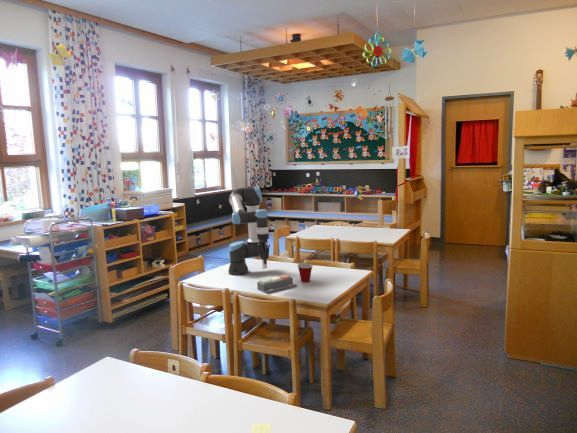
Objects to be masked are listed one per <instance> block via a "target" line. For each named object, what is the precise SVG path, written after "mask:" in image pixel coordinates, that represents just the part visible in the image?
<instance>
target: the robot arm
mask: <svg viewBox="0 0 577 433" xmlns="http://www.w3.org/2000/svg"><path fill="white" fill-rule="evenodd" d="M228 202H229V204H230V206H231V208H232V213H231V221H232V224H234V225H243V224H247V230H248V239H247V240H246V242H245V241H243V240H240V241H239V240H238V241H235V242H232V243H230V244H229V246H228V252H229V268H228V274H229V275H232V276H239V275H240V276H241V275H245V274H247V273H249V267H248V264H247V262H246V259H252V258H261V265H262V266H261V268H262V269H263V270H266V269H268V259H269V256H270V246H271V244H268V240H269V239H270V234H269V221H268V219H269V218H268V216H269V215H268V214H269V213H268V209H265V208H263V209H259V207H260V206H261V203H262V202H263V194H262V190H261V189H260V187H258V186H257V187H256V186H251V187H250V186H249V187H248V186H247V187H239V188H235V189H234V190H233V191H231V193H230V194H229V197H228ZM244 206H245V207H244ZM245 208H247V209H246V210H247V211H245Z"/></svg>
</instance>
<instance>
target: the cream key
mask: <svg viewBox="0 0 577 433" xmlns="http://www.w3.org/2000/svg"><path fill="white" fill-rule="evenodd" d="M268 279H270V280H272V282H277V281H281V278H279V277H278V276H273V277H269V278H268Z"/></svg>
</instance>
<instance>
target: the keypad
mask: <svg viewBox="0 0 577 433" xmlns="http://www.w3.org/2000/svg"><path fill="white" fill-rule="evenodd" d="M256 283H257V284H256V285H257V286H256V288H257V290H258V291H260V292H262V293H263V294H265V295H266V294H267V295H269V294H273V293H277V292H281V291H285V290H289V289H293V288H296V287H298V285H297V283H294V279H293V277H291V276H290V278H289V279H285V280H282V279H281V281H277V282H272V283H268V284H262V283H259V281H257V282H256Z"/></svg>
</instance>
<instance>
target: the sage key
mask: <svg viewBox="0 0 577 433" xmlns="http://www.w3.org/2000/svg"><path fill="white" fill-rule="evenodd" d="M258 282H259V283H262V284H268V283H272V280H270V279H269V278H262V279H259V280H258Z"/></svg>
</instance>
